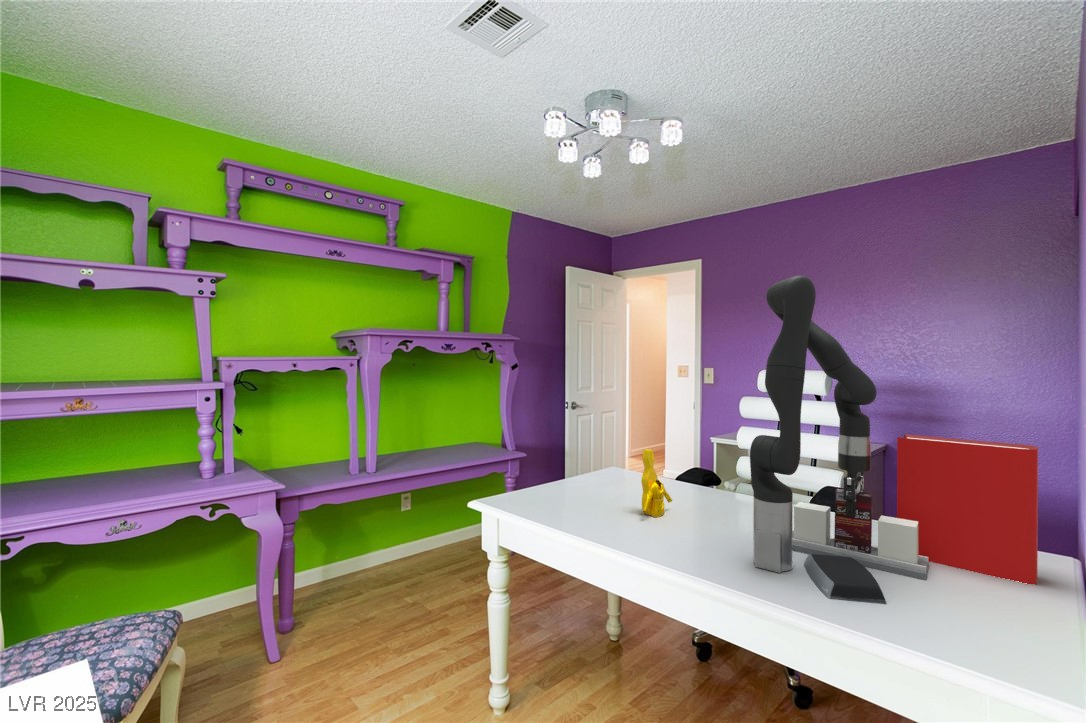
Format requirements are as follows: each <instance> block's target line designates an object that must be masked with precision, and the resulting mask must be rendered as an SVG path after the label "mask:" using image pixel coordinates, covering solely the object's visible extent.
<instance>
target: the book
mask: <svg viewBox="0 0 1086 723" xmlns="http://www.w3.org/2000/svg"><path fill="white" fill-rule="evenodd" d="M896 441H897V443H896V445H897V446H896V448H897V449H896V450H897V451H896V454H897V456H896V457H897V459H896V460H897V462H896V463H897V466H896V467H897V468H896V481H897V483H896V488H897V489H896V518H900V519H906V520H912V521H918V555H920V556H925V557H928V559H929V563H934V564H937V565H943V566H947V567H951V568H955V569H959V568H960V570H963V569H965V570H964V571H968V570H969V571H968V572H972V571H973V573H976V572H977V574H980V573H981V575H986V576H989V575H990V576H989V577H993V576H995V578H998V577H1000V578H999V579H1002V578H1005V579H1004V580H1006V579H1010V580H1009V581H1011V580H1014V581H1013V582H1015V581H1019V582H1022V583H1021V584H1023V583H1027V584H1026V585H1028V584H1036V583H1037V582H1038V562H1039V561H1038V560H1039V559H1038V548H1039V547H1038V544H1039V543H1038V542H1039V538H1038V536H1039V535H1038V534H1039V533H1038V532H1039V531H1038V528H1039V526H1038V525H1039V523H1038V522H1039V521H1038V520H1039V519H1038V518H1039V514H1038V512H1039V511H1038V510H1039V446H1035V445H1031V444H1030V445H1029V444H1020V443H1019V444H1018V443H1007V442H997V441H984V440H975V439H974V440H973V439H963V438H962V439H961V438H951V437H950V438H949V437H940V436H939V437H938V436H931V435H929V436H928V435H919V434H918V435H917V434H906V433H904V434H903V437H901V436H900V437H899V436H897V439H896ZM1019 582H1018V583H1019ZM1036 585H1037V584H1036Z"/></svg>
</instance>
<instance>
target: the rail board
mask: <svg viewBox="0 0 1086 723" xmlns="http://www.w3.org/2000/svg"><path fill="white" fill-rule="evenodd" d="M877 525H878V526H877V546H875V545H871V555H870V554H865V553H860V552H855V551H851V550H846V549H841V548H836V547H834V537H831V506H827V505H819V504H815V503H810V502H807V503H806V502H802V501H799V502H797V503H796V504H795V505H794V506H793V526H794V527H793V529H792V551H793V550H795V551H794V552H798V551H799V552H798V553H802V552H804V553H803V554H807V553H808V554H807V555H809V554H818V555H830V556H844V557H852V558H853V559H855V560H856V561H858V562H859V563H860V564H862V565H863V566H864V567H865V568H870V569H874V570H879V571H883V572H888V573H893V574H897V575H902V576H904V577H910V578H915V579H920V580H924V581H926V580H927V577H928V576H927V575H928V569H929V563H930V562H929V559H928V557H925V556H920V555H918V521H912V520H906V519H900V518H897V517H893V516H886V515H880V517H879V518H878V520H877Z"/></svg>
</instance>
